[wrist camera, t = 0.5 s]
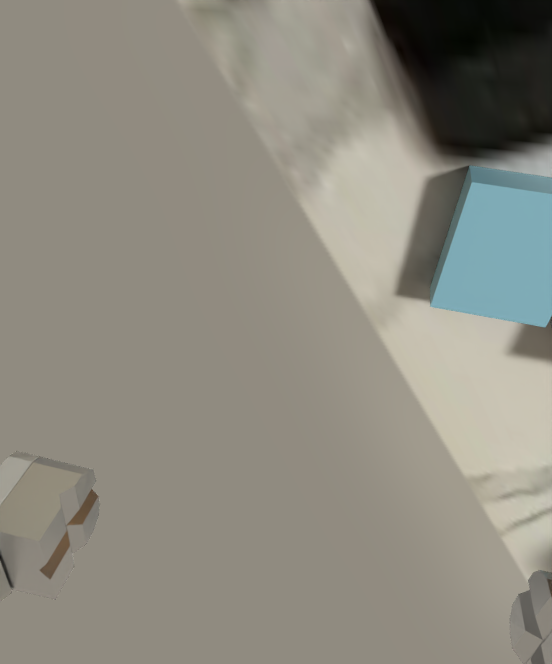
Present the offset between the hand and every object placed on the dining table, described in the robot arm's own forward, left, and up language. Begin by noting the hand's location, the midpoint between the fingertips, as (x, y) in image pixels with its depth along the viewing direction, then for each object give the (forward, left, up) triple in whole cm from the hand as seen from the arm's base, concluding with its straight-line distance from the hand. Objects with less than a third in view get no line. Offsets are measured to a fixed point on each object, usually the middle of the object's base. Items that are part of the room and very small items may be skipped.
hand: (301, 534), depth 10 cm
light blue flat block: (+14, +13, -37) cm, 42 cm away
